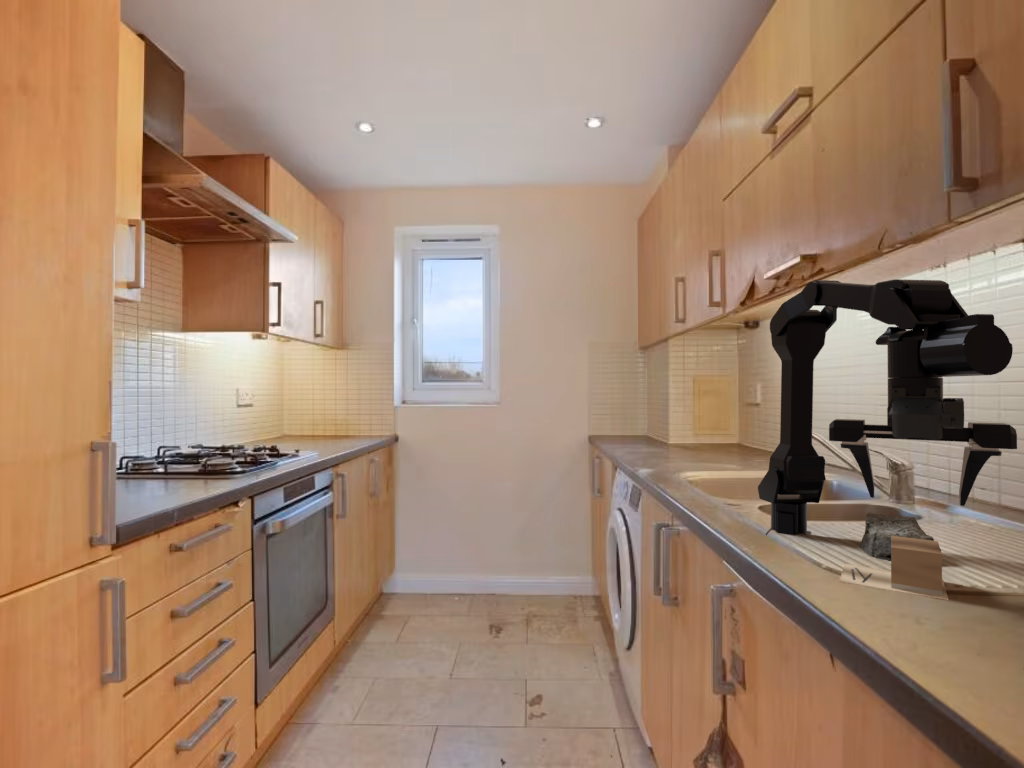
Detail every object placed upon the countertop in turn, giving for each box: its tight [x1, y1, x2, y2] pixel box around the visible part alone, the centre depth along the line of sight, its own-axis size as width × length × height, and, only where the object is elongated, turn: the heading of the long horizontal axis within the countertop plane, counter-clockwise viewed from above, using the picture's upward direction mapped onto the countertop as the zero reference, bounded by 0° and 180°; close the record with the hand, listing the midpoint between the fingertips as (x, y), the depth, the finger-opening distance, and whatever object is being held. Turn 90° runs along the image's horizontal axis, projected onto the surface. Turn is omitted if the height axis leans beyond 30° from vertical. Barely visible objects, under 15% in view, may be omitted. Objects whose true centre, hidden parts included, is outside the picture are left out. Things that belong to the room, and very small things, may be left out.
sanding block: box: [890, 536, 943, 596], centre depth 71 cm, size 7×5×5 cm
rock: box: [859, 512, 942, 562], centre depth 85 cm, size 13×9×6 cm, turn 171°
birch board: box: [839, 563, 949, 601], centre depth 72 cm, size 9×11×1 cm
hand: (915, 501), depth 71 cm, fingers open, 9 cm apart
